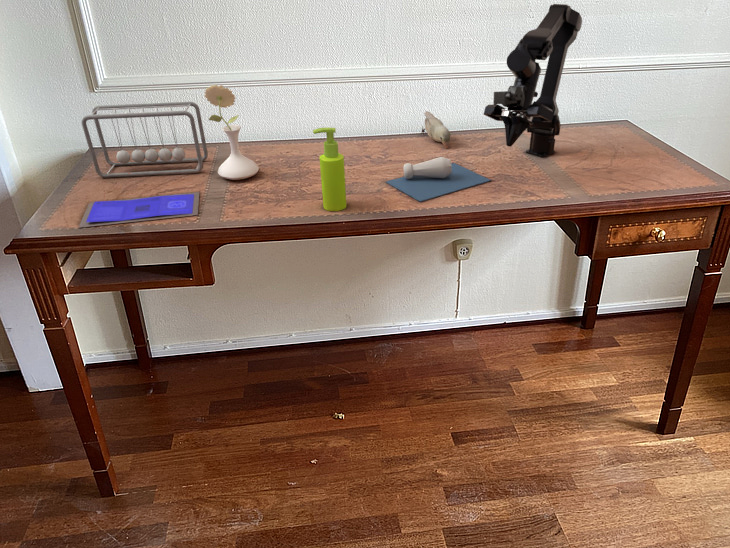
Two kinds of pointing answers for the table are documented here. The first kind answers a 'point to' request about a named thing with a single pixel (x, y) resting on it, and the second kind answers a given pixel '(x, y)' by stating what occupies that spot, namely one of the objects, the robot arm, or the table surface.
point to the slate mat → (438, 183)
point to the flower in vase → (230, 137)
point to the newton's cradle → (150, 153)
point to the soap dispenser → (332, 173)
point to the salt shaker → (429, 169)
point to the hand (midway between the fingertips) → (508, 146)
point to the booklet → (140, 209)
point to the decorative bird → (436, 129)
